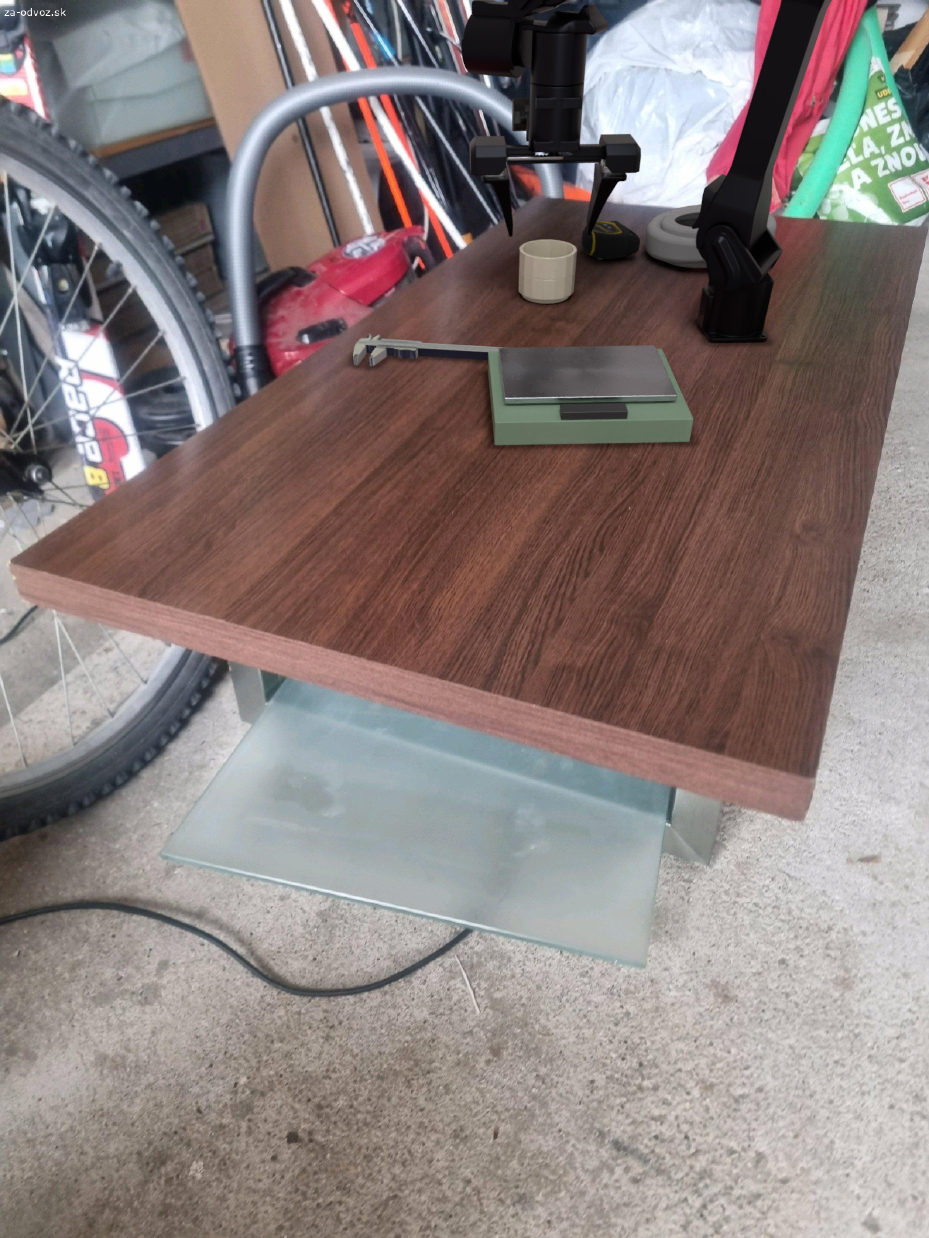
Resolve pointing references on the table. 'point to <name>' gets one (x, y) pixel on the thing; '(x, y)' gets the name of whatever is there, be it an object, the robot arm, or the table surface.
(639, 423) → the scale
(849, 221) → the table surface
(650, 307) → the table surface
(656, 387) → the scale pan
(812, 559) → the table surface
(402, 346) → the caliper
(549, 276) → the cup
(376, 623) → the table surface
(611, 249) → the tape measure
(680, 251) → the grey donut ring
